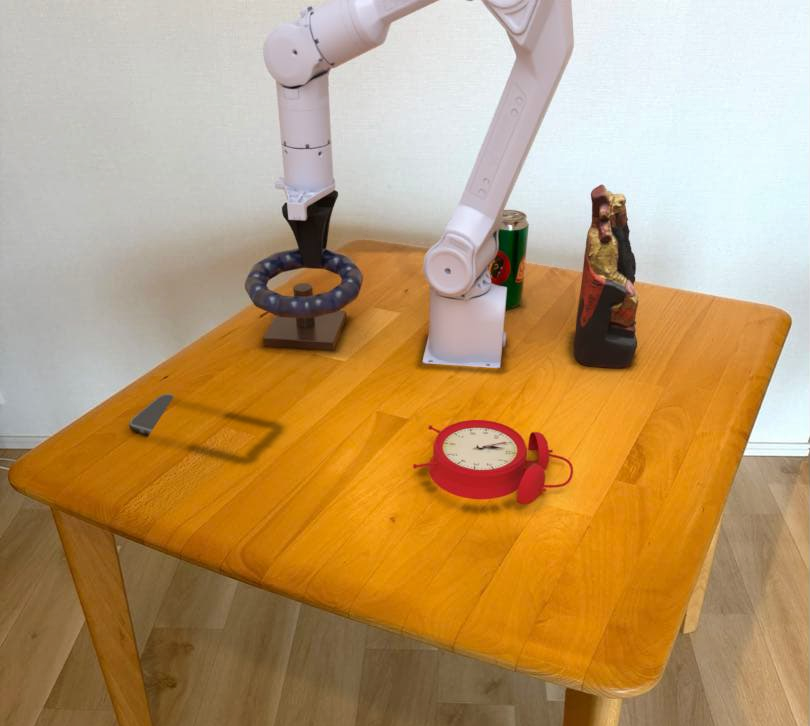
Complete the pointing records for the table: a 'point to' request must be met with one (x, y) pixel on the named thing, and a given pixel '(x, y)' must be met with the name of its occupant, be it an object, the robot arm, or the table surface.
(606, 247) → the statue
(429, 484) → the table surface
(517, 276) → the soda can
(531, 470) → the alarm clock
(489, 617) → the table surface
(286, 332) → the post
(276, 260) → the ring
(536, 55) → the robot arm
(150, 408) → the grey flat tapered piece
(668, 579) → the table surface
